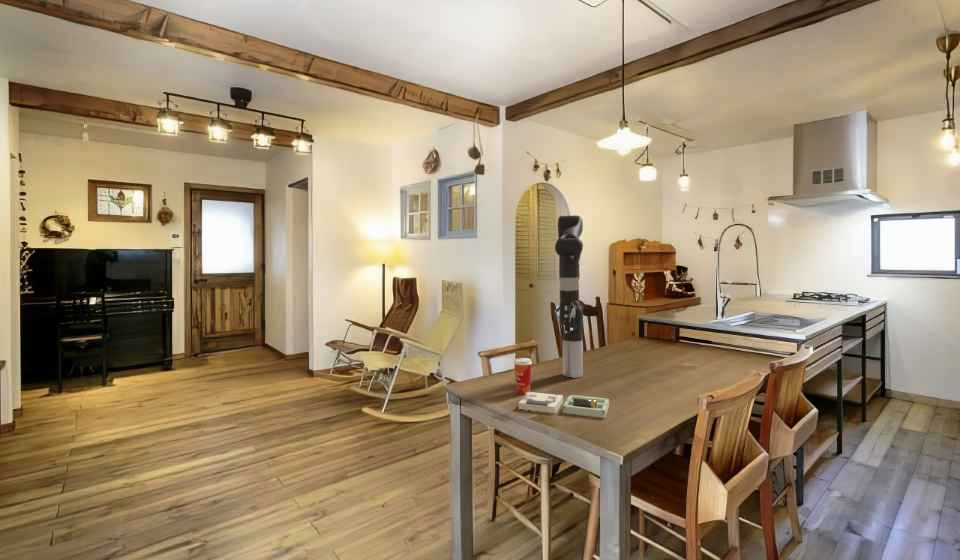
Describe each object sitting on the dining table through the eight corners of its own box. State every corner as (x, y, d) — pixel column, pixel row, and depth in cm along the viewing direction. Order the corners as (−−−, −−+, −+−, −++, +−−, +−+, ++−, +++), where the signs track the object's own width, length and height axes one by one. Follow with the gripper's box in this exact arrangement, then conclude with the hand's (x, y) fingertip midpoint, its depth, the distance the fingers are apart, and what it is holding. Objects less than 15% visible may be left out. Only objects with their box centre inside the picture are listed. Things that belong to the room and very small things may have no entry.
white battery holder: (528, 397, 184) (528, 387, 184) (563, 401, 179) (562, 390, 179) (518, 409, 171) (518, 398, 171) (555, 413, 166) (555, 402, 166)
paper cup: (511, 391, 194) (510, 358, 193) (527, 388, 196) (526, 356, 195) (519, 396, 186) (518, 362, 185) (535, 394, 189) (535, 360, 188)
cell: (574, 407, 169) (575, 398, 170) (598, 410, 166) (598, 401, 167) (573, 406, 166) (573, 397, 168) (597, 409, 163) (597, 399, 164)
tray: (569, 401, 179) (569, 394, 179) (609, 405, 173) (609, 398, 173) (562, 413, 166) (562, 406, 166) (604, 418, 161) (604, 410, 161)
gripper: (563, 287, 187) (563, 326, 188) (555, 290, 174) (556, 332, 175) (581, 287, 184) (582, 327, 185) (575, 290, 171) (575, 333, 172)
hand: (569, 329), depth 180 cm, fingers open, 8 cm apart
